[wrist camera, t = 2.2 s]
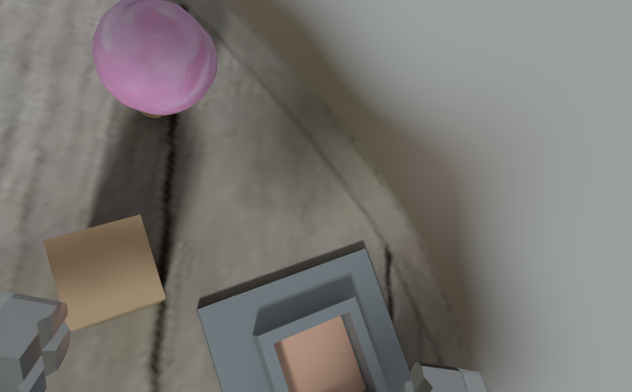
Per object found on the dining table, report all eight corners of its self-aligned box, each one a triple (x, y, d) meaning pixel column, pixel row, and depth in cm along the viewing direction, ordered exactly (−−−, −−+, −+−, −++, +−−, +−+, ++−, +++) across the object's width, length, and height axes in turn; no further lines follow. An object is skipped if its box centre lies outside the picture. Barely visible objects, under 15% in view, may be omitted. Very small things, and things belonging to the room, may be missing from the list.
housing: (421, 415, 42) (439, 422, 39) (258, 508, 36) (266, 523, 33) (361, 249, 44) (375, 245, 41) (196, 309, 37) (200, 309, 35)
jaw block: (160, 302, 37) (165, 298, 26) (93, 325, 35) (68, 331, 24) (142, 243, 37) (140, 214, 26) (75, 262, 35) (43, 240, 24)
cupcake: (225, 100, 43) (246, 42, 33) (155, 160, 39) (157, 114, 30) (154, 30, 42) (156, -48, 33) (76, 86, 38) (53, 15, 29)
